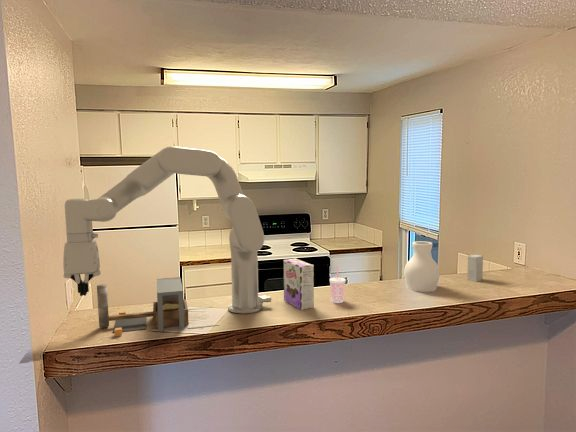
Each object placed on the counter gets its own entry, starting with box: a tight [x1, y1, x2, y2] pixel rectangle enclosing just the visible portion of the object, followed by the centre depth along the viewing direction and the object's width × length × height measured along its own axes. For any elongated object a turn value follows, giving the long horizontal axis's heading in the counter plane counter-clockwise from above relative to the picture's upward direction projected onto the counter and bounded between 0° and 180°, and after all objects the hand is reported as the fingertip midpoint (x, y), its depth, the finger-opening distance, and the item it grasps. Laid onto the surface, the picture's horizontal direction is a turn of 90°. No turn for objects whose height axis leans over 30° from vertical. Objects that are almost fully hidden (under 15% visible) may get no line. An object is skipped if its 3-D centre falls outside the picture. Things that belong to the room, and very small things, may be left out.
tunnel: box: [111, 276, 220, 337], centre depth 148 cm, size 33×20×12 cm, turn 107°
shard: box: [157, 304, 179, 312], centre depth 147 cm, size 11×8×2 cm
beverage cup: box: [329, 265, 346, 304], centre depth 166 cm, size 6×6×14 cm
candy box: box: [282, 258, 315, 311], centre depth 164 cm, size 14×6×16 cm, turn 27°
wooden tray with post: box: [96, 283, 190, 329], centre depth 146 cm, size 28×12×14 cm, turn 107°
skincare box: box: [466, 253, 484, 283], centre depth 193 cm, size 6×4×12 cm
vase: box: [403, 240, 441, 293], centre depth 182 cm, size 14×14×20 cm
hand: (83, 294), depth 140 cm, fingers closed
